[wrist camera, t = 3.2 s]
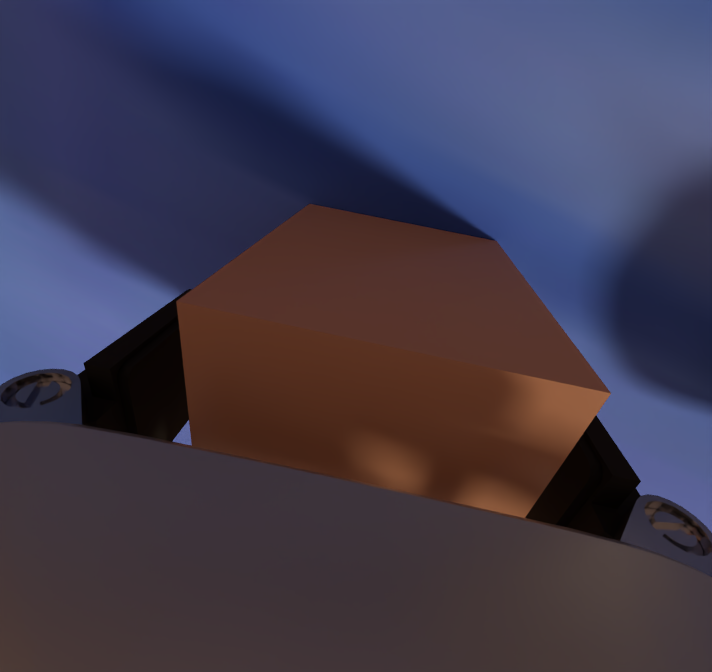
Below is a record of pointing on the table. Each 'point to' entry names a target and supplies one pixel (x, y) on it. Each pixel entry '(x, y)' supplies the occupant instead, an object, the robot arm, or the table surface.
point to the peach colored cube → (386, 361)
